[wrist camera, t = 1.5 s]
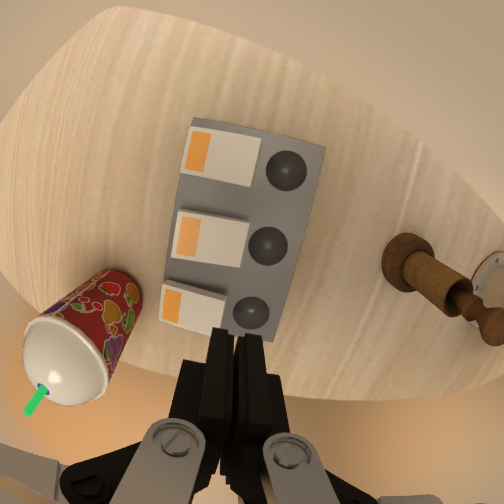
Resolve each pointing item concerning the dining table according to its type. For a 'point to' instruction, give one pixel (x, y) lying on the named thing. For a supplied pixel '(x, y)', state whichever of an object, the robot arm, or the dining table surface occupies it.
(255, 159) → the block
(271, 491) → the robot arm
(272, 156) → the power strip
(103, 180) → the dining table surface
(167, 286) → the rocker
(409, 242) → the mortar and pestle
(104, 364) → the smoothie
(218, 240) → the block
